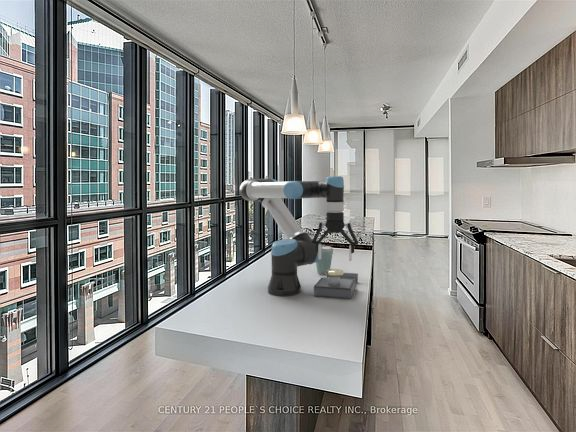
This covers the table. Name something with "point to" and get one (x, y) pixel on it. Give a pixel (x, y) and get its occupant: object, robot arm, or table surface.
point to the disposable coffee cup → (324, 259)
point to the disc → (334, 272)
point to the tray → (349, 276)
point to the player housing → (334, 288)
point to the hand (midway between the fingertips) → (334, 259)
